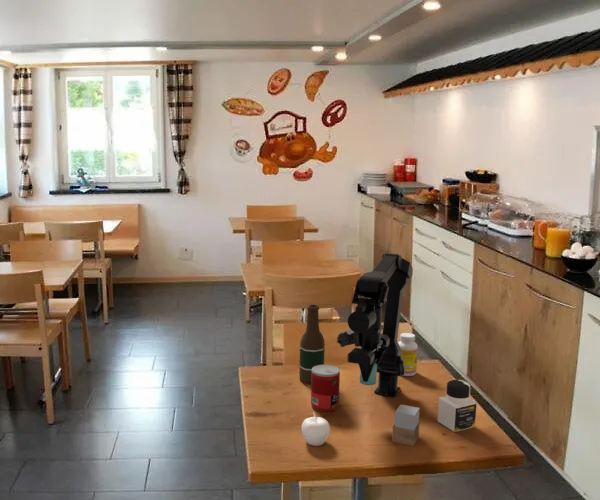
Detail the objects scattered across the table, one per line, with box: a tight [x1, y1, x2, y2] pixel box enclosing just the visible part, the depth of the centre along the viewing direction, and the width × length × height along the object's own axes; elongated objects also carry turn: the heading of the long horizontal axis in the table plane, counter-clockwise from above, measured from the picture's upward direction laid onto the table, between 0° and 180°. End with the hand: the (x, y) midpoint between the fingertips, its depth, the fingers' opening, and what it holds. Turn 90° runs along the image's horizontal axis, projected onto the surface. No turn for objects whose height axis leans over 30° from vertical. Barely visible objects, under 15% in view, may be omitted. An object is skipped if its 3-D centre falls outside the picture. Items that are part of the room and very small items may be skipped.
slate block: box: [393, 404, 420, 431], centre depth 165 cm, size 5×5×4 cm
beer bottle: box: [299, 304, 326, 385], centre depth 201 cm, size 8×8×24 cm
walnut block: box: [391, 422, 420, 447], centre depth 165 cm, size 6×6×4 cm
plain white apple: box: [301, 411, 331, 447], centre depth 162 cm, size 7×7×8 cm
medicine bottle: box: [437, 379, 477, 433], centre depth 173 cm, size 7×7×12 cm
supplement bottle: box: [397, 332, 419, 377], centre depth 209 cm, size 7×7×13 cm
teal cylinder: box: [359, 363, 378, 386], centre depth 174 cm, size 4×4×5 cm
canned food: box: [310, 364, 341, 412], centre depth 183 cm, size 8×8×11 cm
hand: (368, 378), depth 175 cm, fingers closed on teal cylinder, 4 cm apart
